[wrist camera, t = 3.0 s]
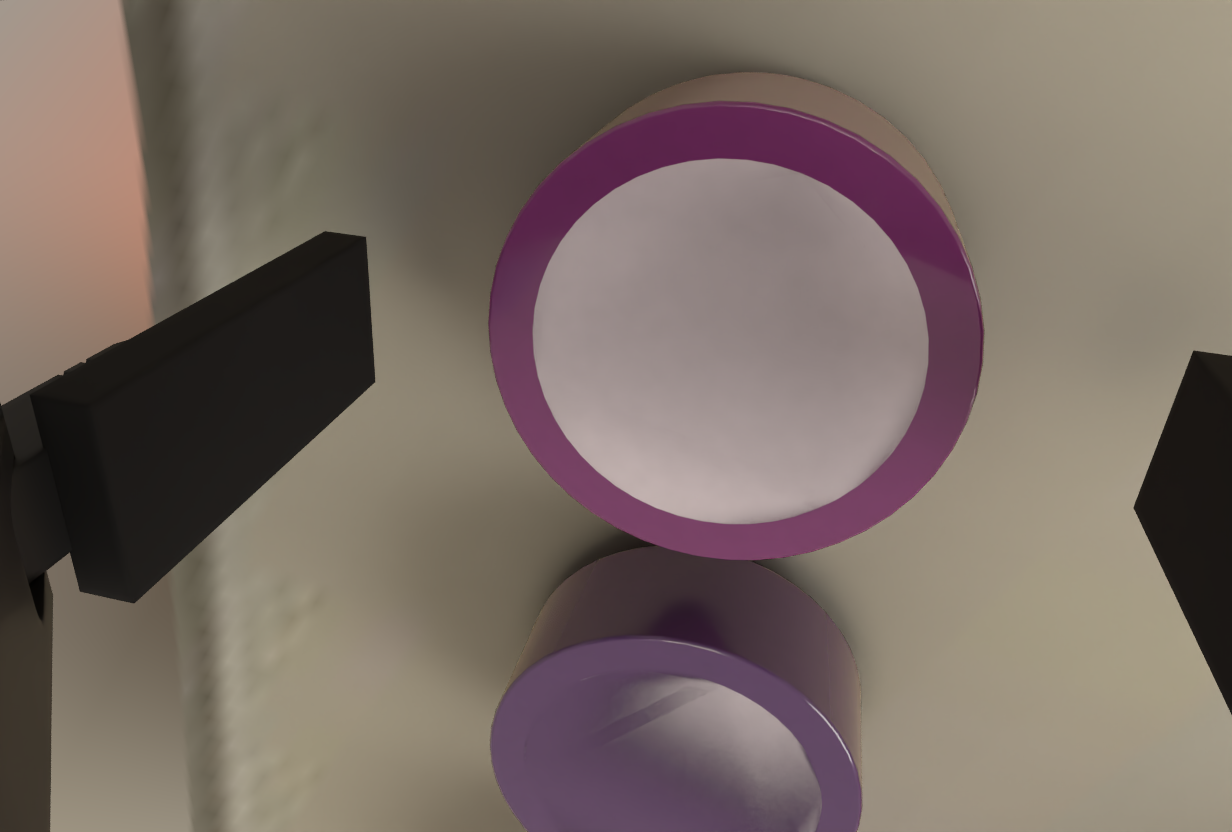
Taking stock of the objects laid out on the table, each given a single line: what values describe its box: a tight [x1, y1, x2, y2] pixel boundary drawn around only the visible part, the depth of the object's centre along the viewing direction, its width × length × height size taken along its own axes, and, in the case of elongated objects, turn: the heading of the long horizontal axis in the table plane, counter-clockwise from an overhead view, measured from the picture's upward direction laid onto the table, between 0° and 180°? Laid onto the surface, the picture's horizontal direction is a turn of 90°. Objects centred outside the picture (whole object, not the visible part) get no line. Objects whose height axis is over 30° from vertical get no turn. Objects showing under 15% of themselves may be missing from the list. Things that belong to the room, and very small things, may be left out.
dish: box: [488, 72, 984, 560], centre depth 17 cm, size 8×8×4 cm
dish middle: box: [490, 546, 862, 832], centre depth 22 cm, size 8×8×4 cm
